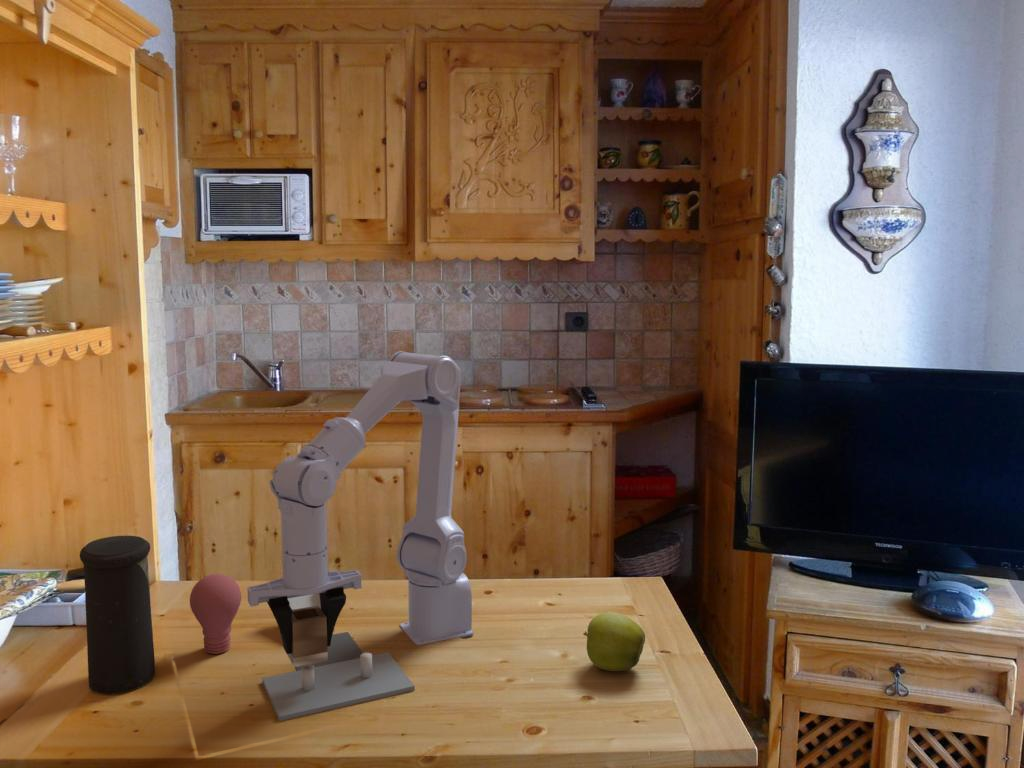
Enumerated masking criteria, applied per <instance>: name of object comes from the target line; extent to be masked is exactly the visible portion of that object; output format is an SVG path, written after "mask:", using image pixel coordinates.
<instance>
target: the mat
mask: <svg viewBox="0 0 1024 768" xmlns="http://www.w3.org/2000/svg"><path fill="white" fill-rule="evenodd" d="M327 653H328V661H323V662H318V663H313V664H311V665H313V666H314V667H319V666H324V665H328V664H333V663H338V662H343V661H348V660H353V659H358V658H360V655H361V654H362V653H364V652H363V651H362V649H361V648H360V647H359V645H358V644H357V642H356V641H355V640H354V638H353V637H352V636H351V635H350V633H349V631H345V632H339V633H335V634H332V639H331V645H330V646H327ZM303 666H304V665H303ZM294 668H295V671H299V670H302V666H298V667H294Z"/></svg>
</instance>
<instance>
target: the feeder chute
mask: <svg viewBox="0 0 1024 768" xmlns="http://www.w3.org/2000/svg"><path fill="white" fill-rule="evenodd" d="M288 601H289V604H290V607H291V609H292V610H294V609H300V608H306V607H312V606H319V607H320V609H321V604H320V595H319V593H318V594H312V595H306V596H300V597H294V598H288ZM334 632H335V627H334V630H333V633H334Z"/></svg>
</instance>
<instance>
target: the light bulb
mask: <svg viewBox="0 0 1024 768" xmlns="http://www.w3.org/2000/svg"><path fill="white" fill-rule="evenodd" d="M241 604H242V591H241V588H240V586H239V584H238V582H237V581H236V580H235V579H234V578H232V577H231V576H229V575H226V574H224V573H212V574H209V575H205V576H204V577H202V578H201V579H199V580H198V581H197V582H196V583H195V585H194V586H193V588H192V590H191V593H190V597H189V607H190V610H191V612H192V614H193V615H194V617H195V619H196V620H197V622H198V623H199V625H200V626H201V627H202V635H203V647H204V652H206V653H208V654H214V655H215V654H222V653H225V652H227V651H229V650H230V649H231V641H232V638H231V634H230V632H232V630H233V629H232V623H233V621H234V619H235V618H236V615H237V613H238V611H239V608H240V606H241Z"/></svg>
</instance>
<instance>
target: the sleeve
mask: <svg viewBox="0 0 1024 768" xmlns="http://www.w3.org/2000/svg"><path fill="white" fill-rule="evenodd" d="M291 635H292V653H291V654H286V655H287V657H288V659H289V660H290V662H291V664H292V666H293V668H295V667H298V666H303V665H308V664H313V663H318V662H323V661H328V653H327V617H326V616H325V614H324V613H323V611H322V610H321V609H320V607H319V606H312V607H306V608H300V609H294V610H292V621H291Z"/></svg>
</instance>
